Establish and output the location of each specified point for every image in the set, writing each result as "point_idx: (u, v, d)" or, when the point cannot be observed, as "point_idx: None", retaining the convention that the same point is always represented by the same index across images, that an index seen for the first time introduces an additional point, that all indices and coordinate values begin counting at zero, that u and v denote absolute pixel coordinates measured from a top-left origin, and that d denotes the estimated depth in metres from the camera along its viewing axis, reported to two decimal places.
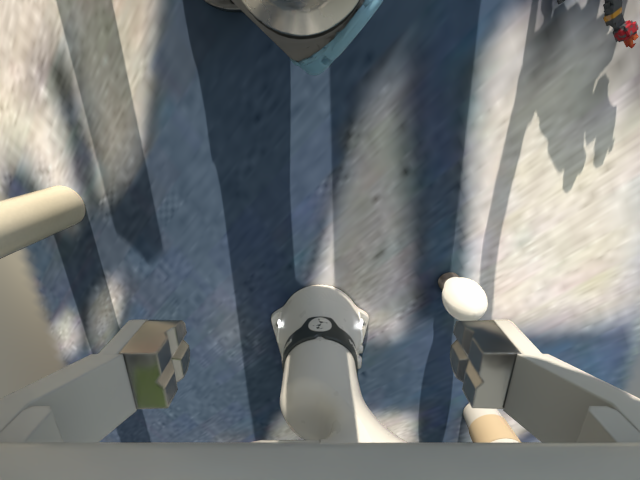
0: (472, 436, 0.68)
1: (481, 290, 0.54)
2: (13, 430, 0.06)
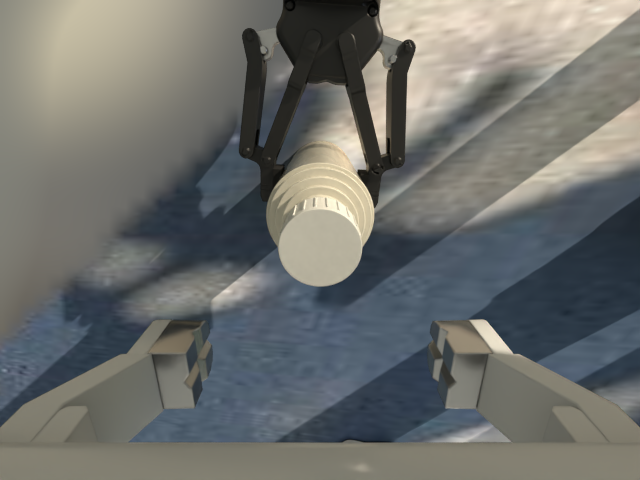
0: None
1: None
2: (52, 430, 0.06)
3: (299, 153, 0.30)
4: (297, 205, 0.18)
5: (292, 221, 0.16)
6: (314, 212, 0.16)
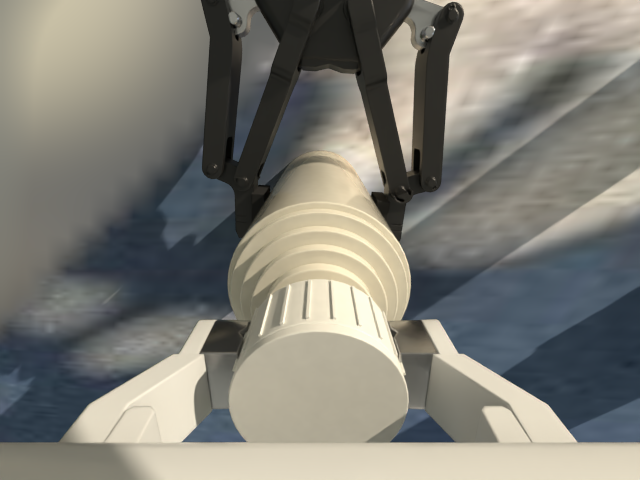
0: None
1: None
2: (123, 430, 0.06)
3: (290, 171, 0.21)
4: (273, 296, 0.09)
5: (256, 355, 0.07)
6: (305, 338, 0.07)
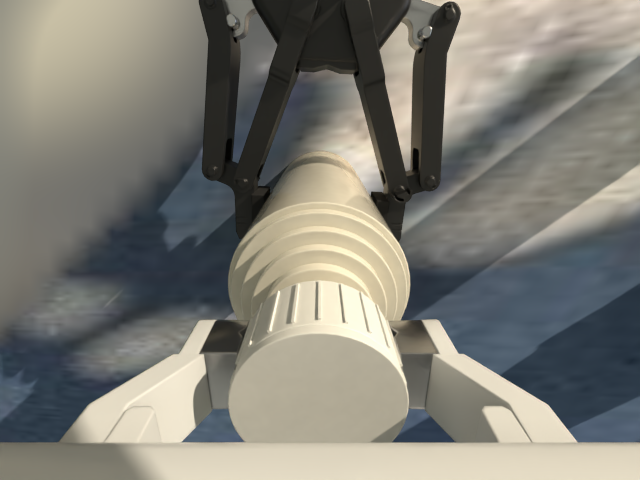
0: None
1: None
2: (123, 430, 0.06)
3: (289, 172, 0.21)
4: None
5: None
6: (236, 419, 0.08)
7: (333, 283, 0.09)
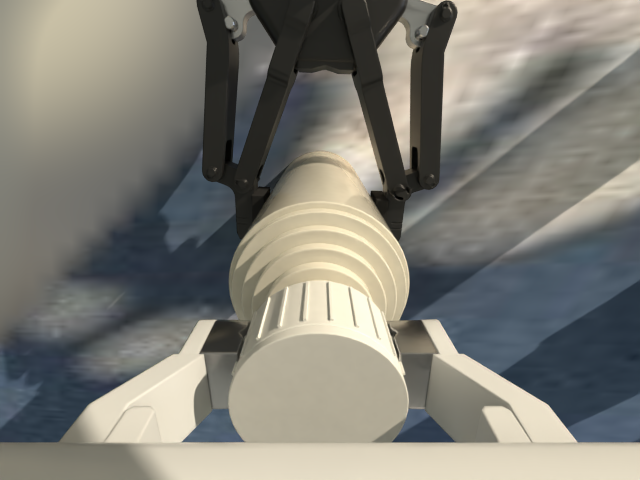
0: None
1: None
2: (123, 430, 0.06)
3: (289, 172, 0.21)
4: None
5: None
6: None
7: None
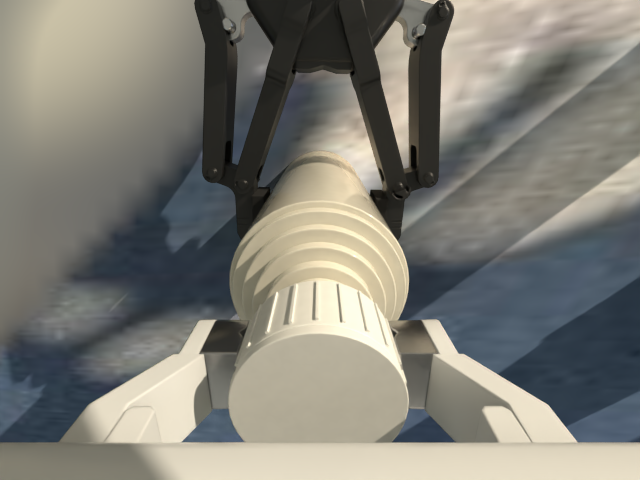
0: None
1: None
2: (123, 430, 0.06)
3: (288, 172, 0.21)
4: None
5: (382, 358, 0.07)
6: (401, 397, 0.08)
7: None
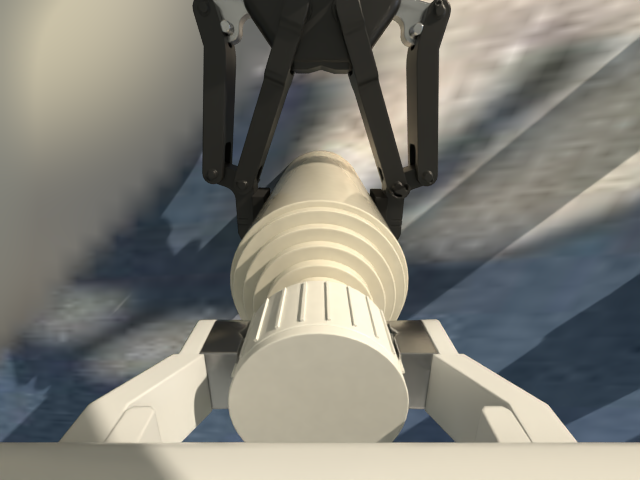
0: None
1: None
2: (123, 430, 0.06)
3: (288, 172, 0.22)
4: (270, 300, 0.09)
5: (253, 359, 0.07)
6: (300, 341, 0.07)
7: None
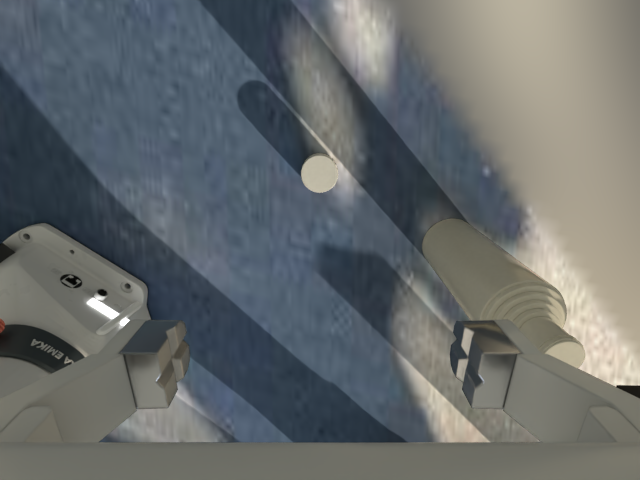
0: None
1: None
2: (13, 430, 0.06)
3: None
4: None
5: (307, 186, 0.39)
6: (302, 177, 0.39)
7: (322, 153, 0.40)
